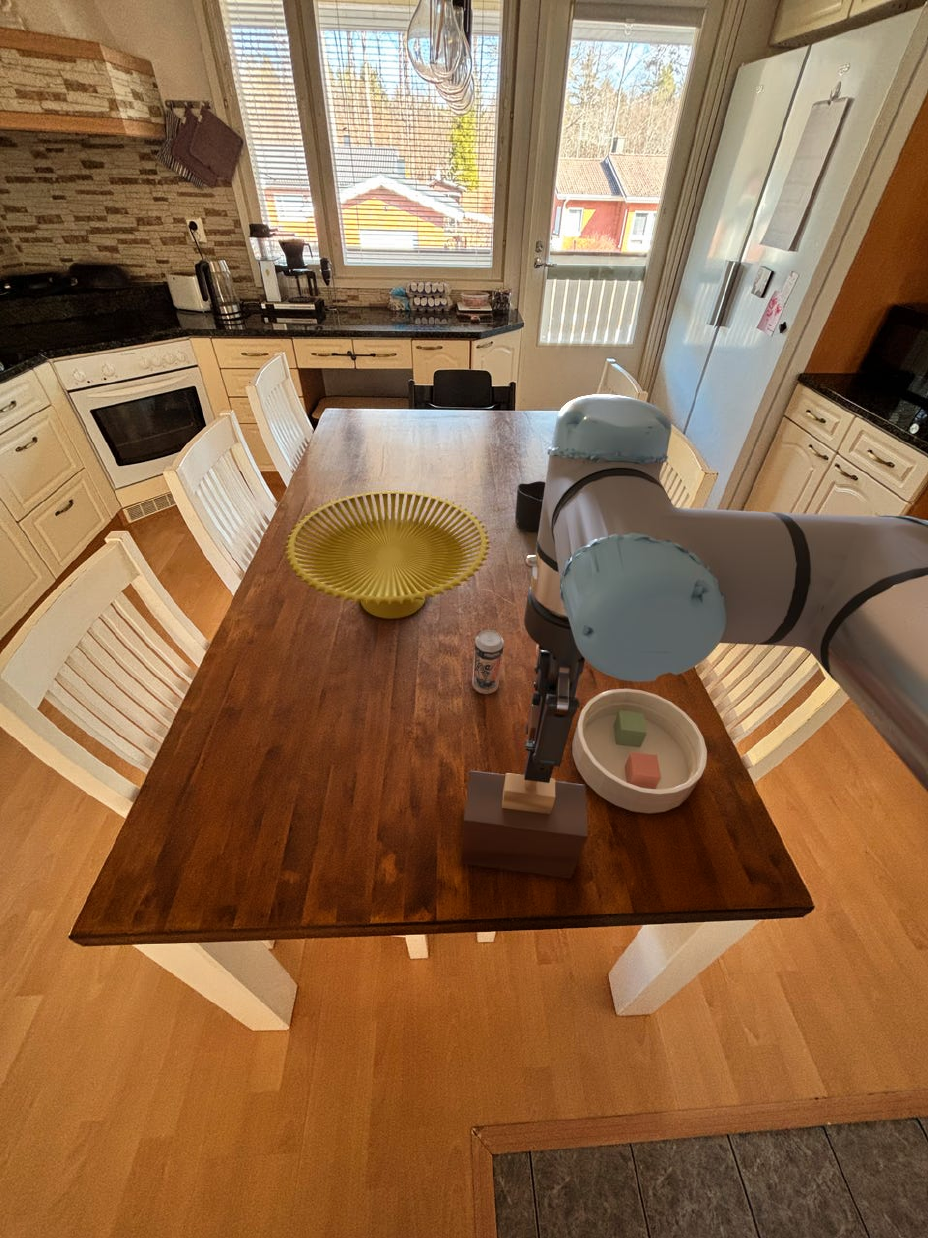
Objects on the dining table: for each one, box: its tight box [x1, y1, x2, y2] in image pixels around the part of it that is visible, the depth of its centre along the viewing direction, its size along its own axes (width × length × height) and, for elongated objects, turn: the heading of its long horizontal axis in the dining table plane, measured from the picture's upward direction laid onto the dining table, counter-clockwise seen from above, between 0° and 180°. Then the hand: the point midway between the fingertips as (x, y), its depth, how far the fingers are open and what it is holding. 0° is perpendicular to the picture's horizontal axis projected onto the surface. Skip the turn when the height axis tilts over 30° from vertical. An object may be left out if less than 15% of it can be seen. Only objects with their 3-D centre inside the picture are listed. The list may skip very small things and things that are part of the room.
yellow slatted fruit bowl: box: [282, 489, 491, 620], centre depth 109 cm, size 40×40×15 cm
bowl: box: [571, 688, 708, 814], centre depth 84 cm, size 19×19×6 cm
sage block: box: [614, 710, 647, 747], centre depth 87 cm, size 4×4×4 cm
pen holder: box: [514, 480, 546, 532], centre depth 136 cm, size 9×9×10 cm
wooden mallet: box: [502, 705, 556, 814], centre depth 61 cm, size 6×3×17 cm, turn 83°
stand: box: [460, 770, 589, 879], centre depth 70 cm, size 7×15×12 cm, turn 83°
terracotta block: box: [625, 752, 661, 790], centre depth 81 cm, size 4×4×4 cm
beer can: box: [471, 629, 505, 695], centre depth 92 cm, size 5×5×12 cm
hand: (537, 754), depth 59 cm, fingers open, 5 cm apart
